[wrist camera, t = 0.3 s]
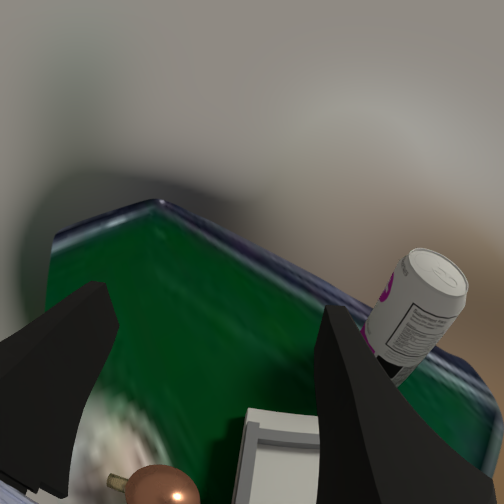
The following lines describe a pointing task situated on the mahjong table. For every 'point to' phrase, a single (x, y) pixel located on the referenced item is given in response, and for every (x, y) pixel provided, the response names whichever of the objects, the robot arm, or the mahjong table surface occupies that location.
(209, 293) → the mahjong table surface
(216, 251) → the mahjong table surface
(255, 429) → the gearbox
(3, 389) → the robot arm
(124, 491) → the spout can
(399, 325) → the supplement can
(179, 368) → the mahjong table surface
